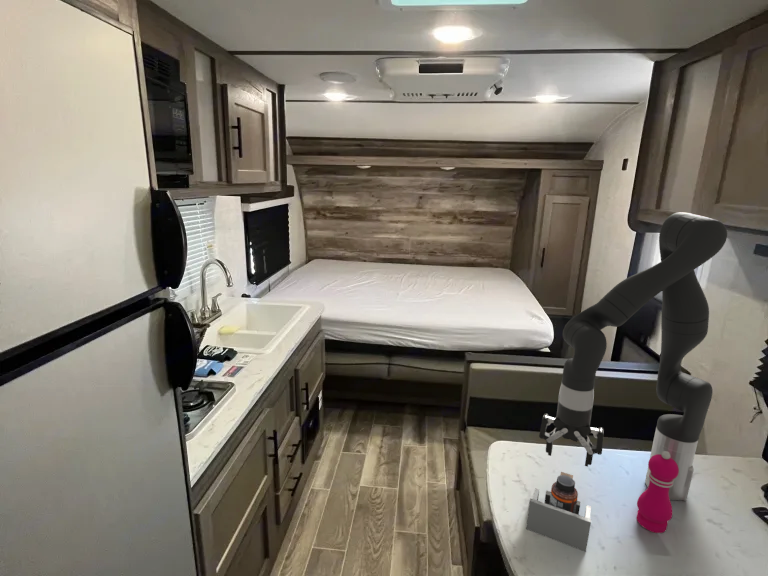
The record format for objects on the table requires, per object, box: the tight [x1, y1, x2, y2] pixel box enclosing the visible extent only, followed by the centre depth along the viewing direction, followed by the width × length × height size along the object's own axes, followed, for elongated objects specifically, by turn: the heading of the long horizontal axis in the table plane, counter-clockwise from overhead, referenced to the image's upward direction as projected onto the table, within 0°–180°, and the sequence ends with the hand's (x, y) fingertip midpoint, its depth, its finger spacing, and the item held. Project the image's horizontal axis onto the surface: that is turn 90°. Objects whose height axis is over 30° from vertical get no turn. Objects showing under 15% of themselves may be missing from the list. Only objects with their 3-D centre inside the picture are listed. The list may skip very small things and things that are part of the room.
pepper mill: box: [636, 451, 679, 534], centre depth 102 cm, size 7×7×20 cm
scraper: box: [544, 471, 581, 515], centre depth 110 cm, size 8×8×6 cm
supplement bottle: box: [549, 474, 579, 514], centre depth 103 cm, size 6×6×11 cm
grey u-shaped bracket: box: [525, 488, 592, 552], centre depth 102 cm, size 13×11×8 cm
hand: (567, 459), depth 107 cm, fingers open, 8 cm apart
